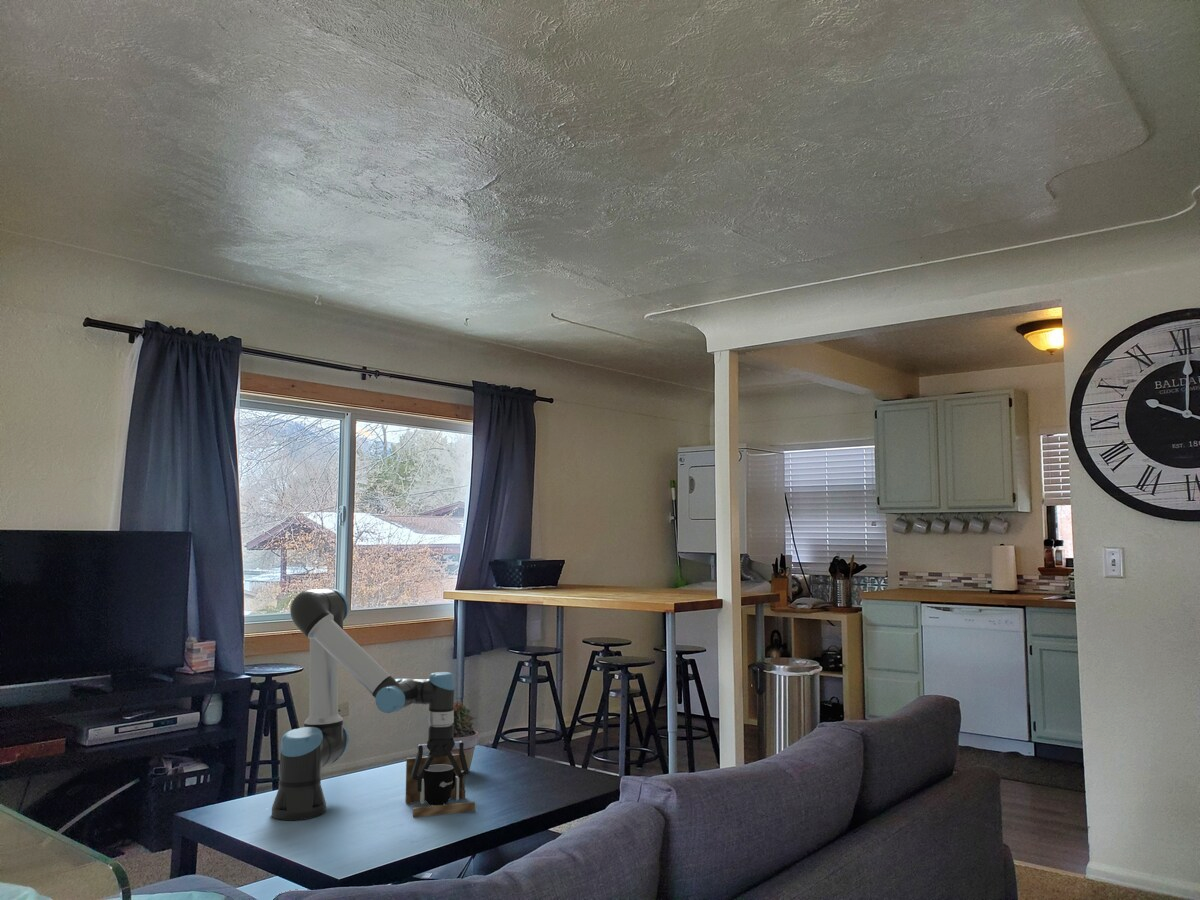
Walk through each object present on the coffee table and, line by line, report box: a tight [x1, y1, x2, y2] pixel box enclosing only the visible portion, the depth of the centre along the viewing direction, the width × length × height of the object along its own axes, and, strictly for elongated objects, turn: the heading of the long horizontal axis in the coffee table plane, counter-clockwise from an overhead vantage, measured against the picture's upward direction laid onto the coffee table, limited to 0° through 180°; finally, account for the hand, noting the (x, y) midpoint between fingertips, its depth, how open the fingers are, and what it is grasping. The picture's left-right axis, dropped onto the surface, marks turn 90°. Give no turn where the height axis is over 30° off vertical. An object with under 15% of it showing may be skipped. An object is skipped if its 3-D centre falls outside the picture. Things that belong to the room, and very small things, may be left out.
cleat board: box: [405, 754, 476, 818], centre depth 264 cm, size 18×17×13 cm
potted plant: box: [450, 701, 479, 772], centre depth 306 cm, size 18×20×25 cm
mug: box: [423, 764, 456, 806], centre depth 264 cm, size 12×9×10 cm
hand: (439, 800), depth 263 cm, fingers closed on mug, 10 cm apart
